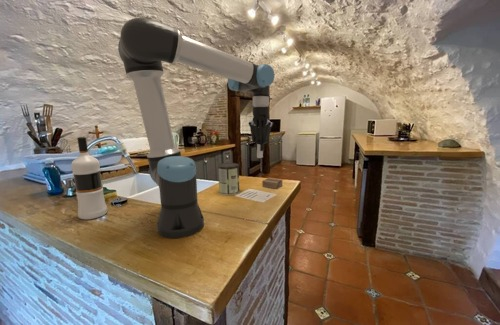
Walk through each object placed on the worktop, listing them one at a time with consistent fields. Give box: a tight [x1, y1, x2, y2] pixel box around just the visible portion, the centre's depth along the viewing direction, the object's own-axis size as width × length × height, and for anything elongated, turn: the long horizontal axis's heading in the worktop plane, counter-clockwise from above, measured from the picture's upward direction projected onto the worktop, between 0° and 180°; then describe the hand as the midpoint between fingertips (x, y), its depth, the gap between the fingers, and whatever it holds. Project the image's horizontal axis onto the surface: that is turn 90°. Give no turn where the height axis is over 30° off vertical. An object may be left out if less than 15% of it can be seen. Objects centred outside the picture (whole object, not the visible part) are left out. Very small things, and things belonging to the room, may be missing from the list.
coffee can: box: [217, 162, 241, 196], centre depth 108 cm, size 10×10×14 cm
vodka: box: [70, 136, 109, 221], centre depth 81 cm, size 9×9×30 cm
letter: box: [234, 188, 278, 203], centre depth 104 cm, size 13×16×1 cm
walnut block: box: [261, 177, 283, 190], centre depth 118 cm, size 8×8×4 cm
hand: (259, 157), depth 104 cm, fingers closed
